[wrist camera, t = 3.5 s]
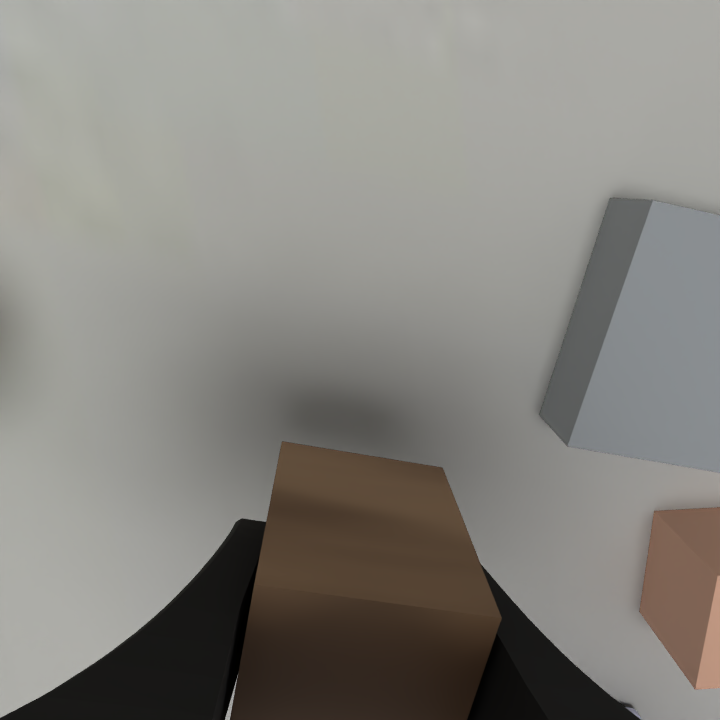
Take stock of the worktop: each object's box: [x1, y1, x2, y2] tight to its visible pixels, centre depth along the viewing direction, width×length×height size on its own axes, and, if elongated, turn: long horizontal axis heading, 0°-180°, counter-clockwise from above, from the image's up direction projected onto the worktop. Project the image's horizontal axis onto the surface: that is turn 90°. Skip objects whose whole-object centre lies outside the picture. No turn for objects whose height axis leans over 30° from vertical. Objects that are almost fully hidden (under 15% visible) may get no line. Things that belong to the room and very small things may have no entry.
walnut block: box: [230, 442, 502, 720], centre depth 12 cm, size 4×4×5 cm
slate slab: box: [539, 198, 720, 473], centre depth 19 cm, size 8×8×3 cm
